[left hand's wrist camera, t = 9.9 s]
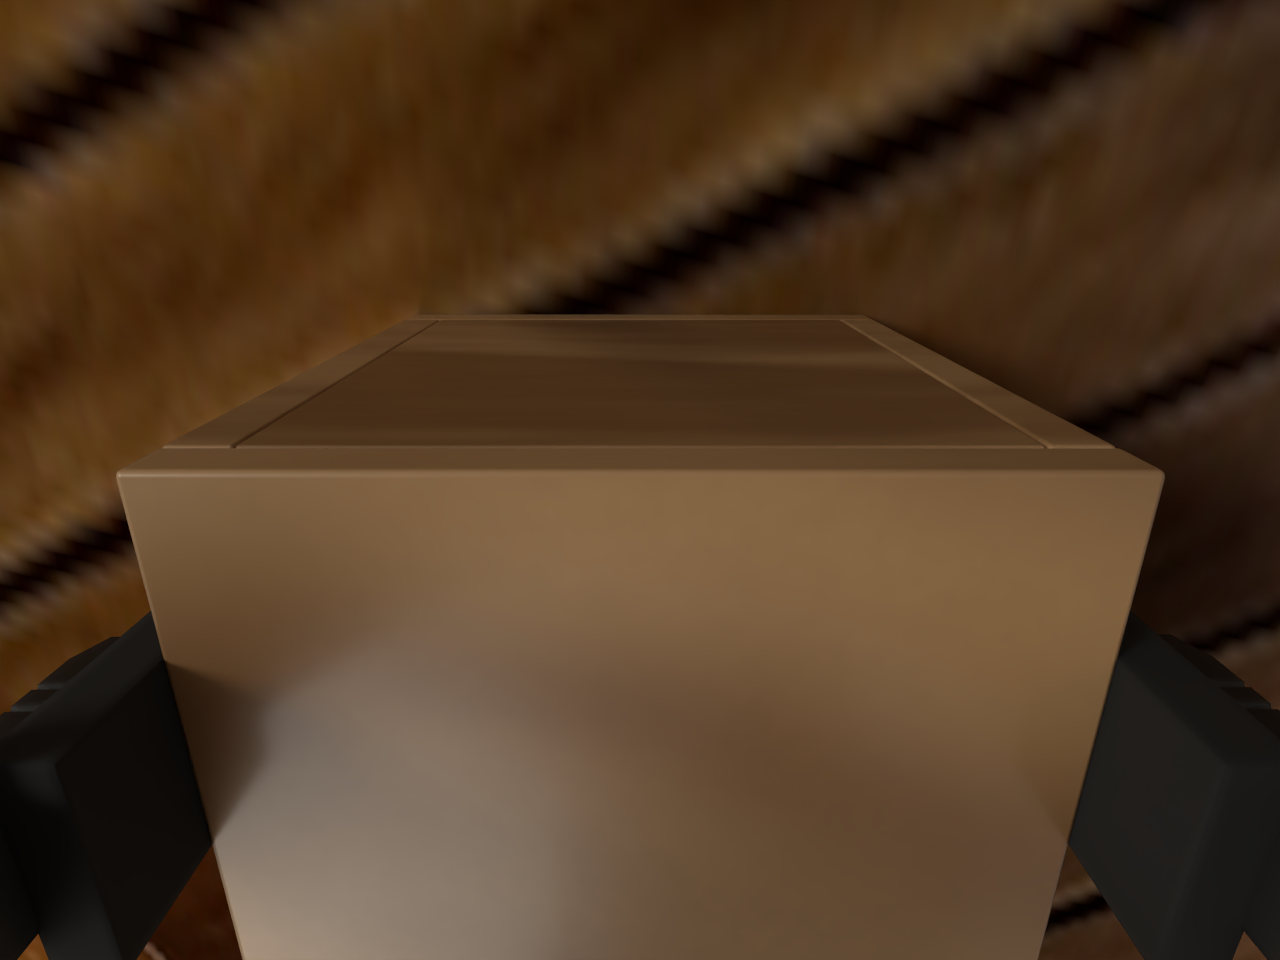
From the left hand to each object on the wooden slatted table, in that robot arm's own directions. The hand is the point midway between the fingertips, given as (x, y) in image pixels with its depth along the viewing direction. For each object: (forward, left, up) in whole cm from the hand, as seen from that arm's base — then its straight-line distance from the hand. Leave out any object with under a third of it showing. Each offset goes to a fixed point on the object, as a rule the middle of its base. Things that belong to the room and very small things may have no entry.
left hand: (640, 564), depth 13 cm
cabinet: (+3, +5, -6) cm, 9 cm away
